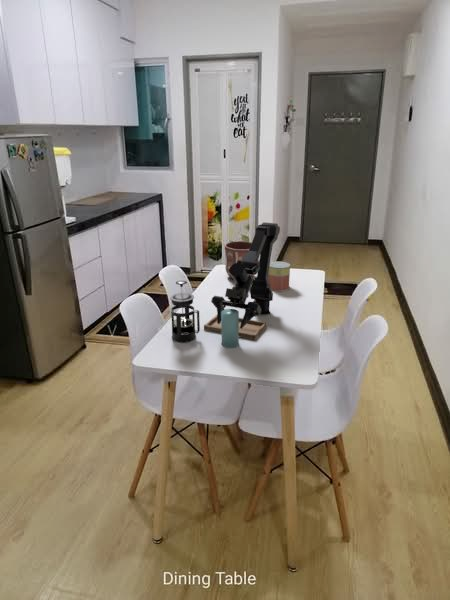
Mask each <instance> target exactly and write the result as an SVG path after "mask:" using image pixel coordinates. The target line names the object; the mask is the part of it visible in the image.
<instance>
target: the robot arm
mask: <svg viewBox="0 0 450 600" xmlns="http://www.w3.org/2000/svg"><path fill="white" fill-rule="evenodd" d="M280 232H281V228H280V225H279V224H278V223H276V222H275V223H274V222H264V221H263V222H262V223H261V224H257V226H256V228H255V234H254V237H253V238H252V241H251V246H250V248H249V251H248V253H247V254H245V255H244V256H243V257H242V259H241V261H237V263H235V264H233V265H232V266H231V267H230V269H229V272H230V274H231V276H232V277H233V279H234V282H235V285H234V286H232V287H231V288H227V287H226V291H225V293H224V294H225V295H224V297H223V296H218V295H214V296H213V297H211V301H210V302H211V303H212V304H213V305H214V308H216V313H217V314H216V315H217V322H218V324H220V322H221V312H222V311H223V310H225V308H226V307H231V308H235V309H242V310H244V315H243V317H242V318H243V320H242V322H241V326H240V328H241V329H242V328H243V327H244V326H245V325H246V323H247V322H248V321H249V320H253V318H256V317H257V316H261V315H269V314H271V310H270V305H271V304H270V302H271V301H273V300H274V298H273V297H274V293H273V290H271V288H270V286H271V284H270V282H269V279H268V274H269V267H270V262H271V259H272V258H271V257H272V252H273V247H274V246H273V245H274V244H275V243H276V241H277V240H278V237H279V235H280ZM248 274H250V275H254V276H256V277H255V278H254V279H253V277H252V278H251V276H249V275H248ZM233 279H232V280H233ZM249 293H250V295H249ZM249 296H250V299H251V300H253V301H248V302H247V304H246V301H247V298H249ZM225 298H227V299H228V300H226V299H225Z"/></svg>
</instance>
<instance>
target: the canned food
mask: <svg viewBox="0 0 450 600" xmlns="http://www.w3.org/2000/svg"><path fill="white" fill-rule="evenodd" d="M290 274H291V264H290V263H289V262H286V261H276V260H275V261H270V267H269V274H268V279H269V282H270V284H271V286H270V288H271V290H272V291H274V292H282V291H287V290H289V289H290Z"/></svg>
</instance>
